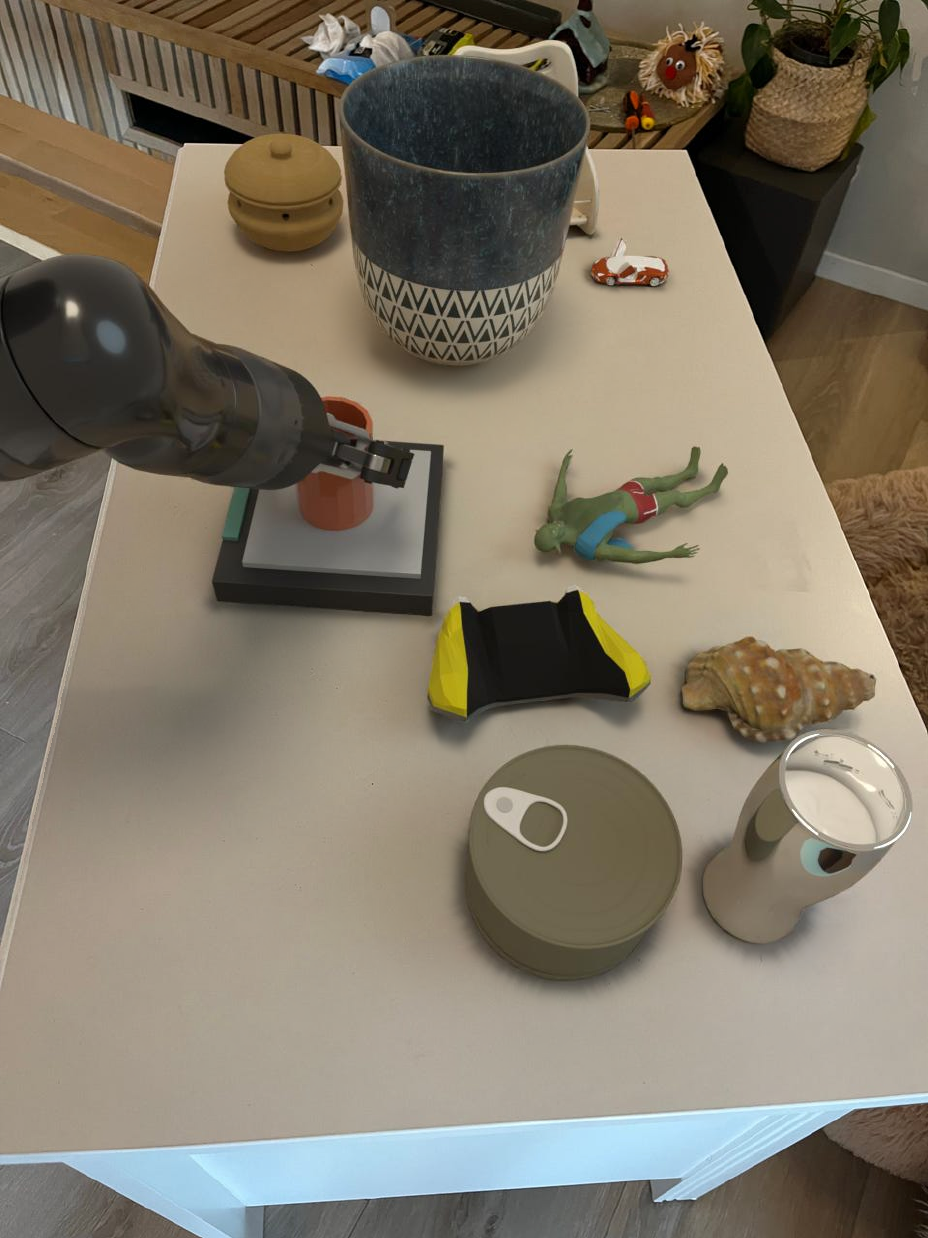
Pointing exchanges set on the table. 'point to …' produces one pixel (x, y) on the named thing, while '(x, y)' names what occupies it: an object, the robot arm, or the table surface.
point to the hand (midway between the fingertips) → (339, 445)
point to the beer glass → (806, 833)
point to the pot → (284, 191)
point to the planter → (459, 199)
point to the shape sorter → (566, 74)
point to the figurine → (618, 515)
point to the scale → (336, 548)
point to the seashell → (772, 688)
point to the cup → (337, 480)
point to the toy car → (629, 268)
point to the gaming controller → (530, 657)
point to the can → (569, 861)
